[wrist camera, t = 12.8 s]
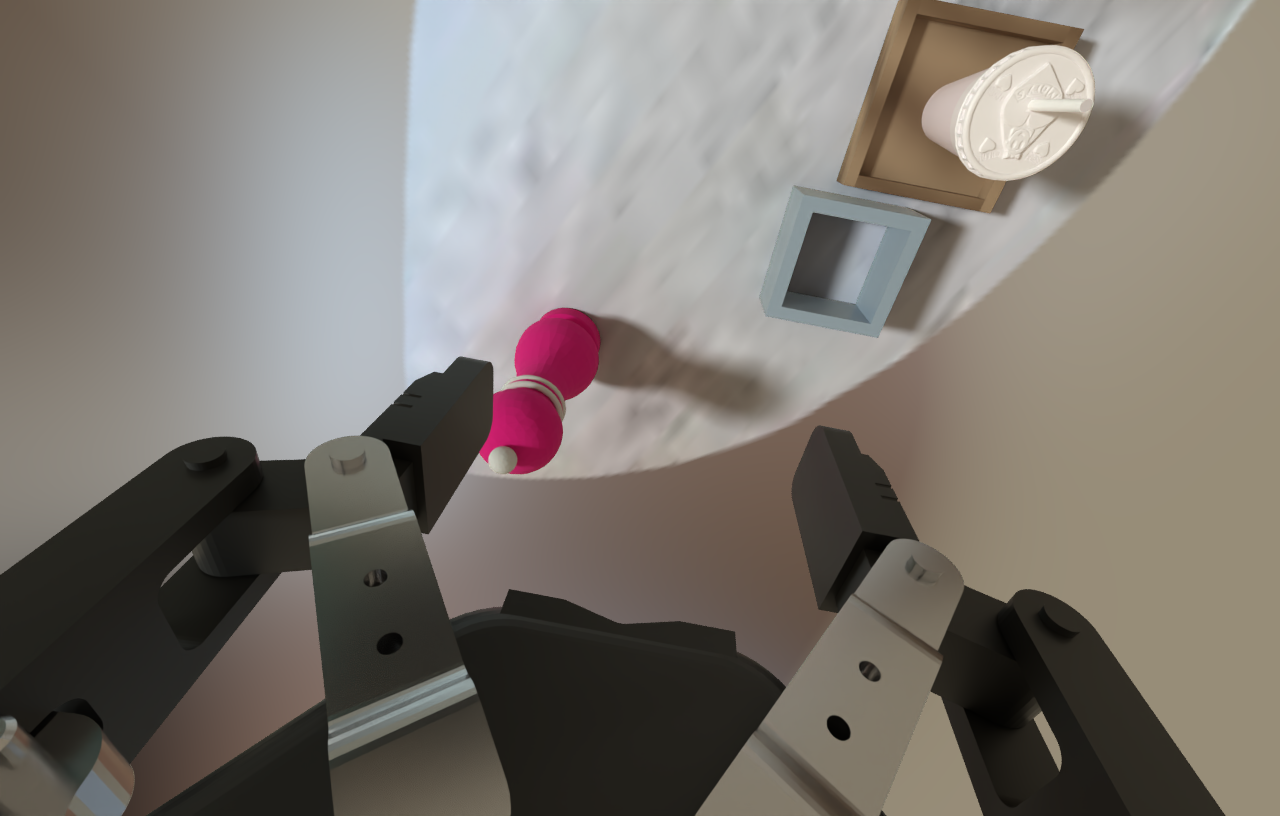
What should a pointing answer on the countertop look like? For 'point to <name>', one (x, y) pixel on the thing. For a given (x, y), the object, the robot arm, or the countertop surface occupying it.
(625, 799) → the robot arm
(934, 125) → the smoothie
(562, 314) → the pepper mill
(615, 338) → the countertop surface
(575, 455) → the countertop surface
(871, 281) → the holder
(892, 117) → the tray
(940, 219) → the countertop surface
